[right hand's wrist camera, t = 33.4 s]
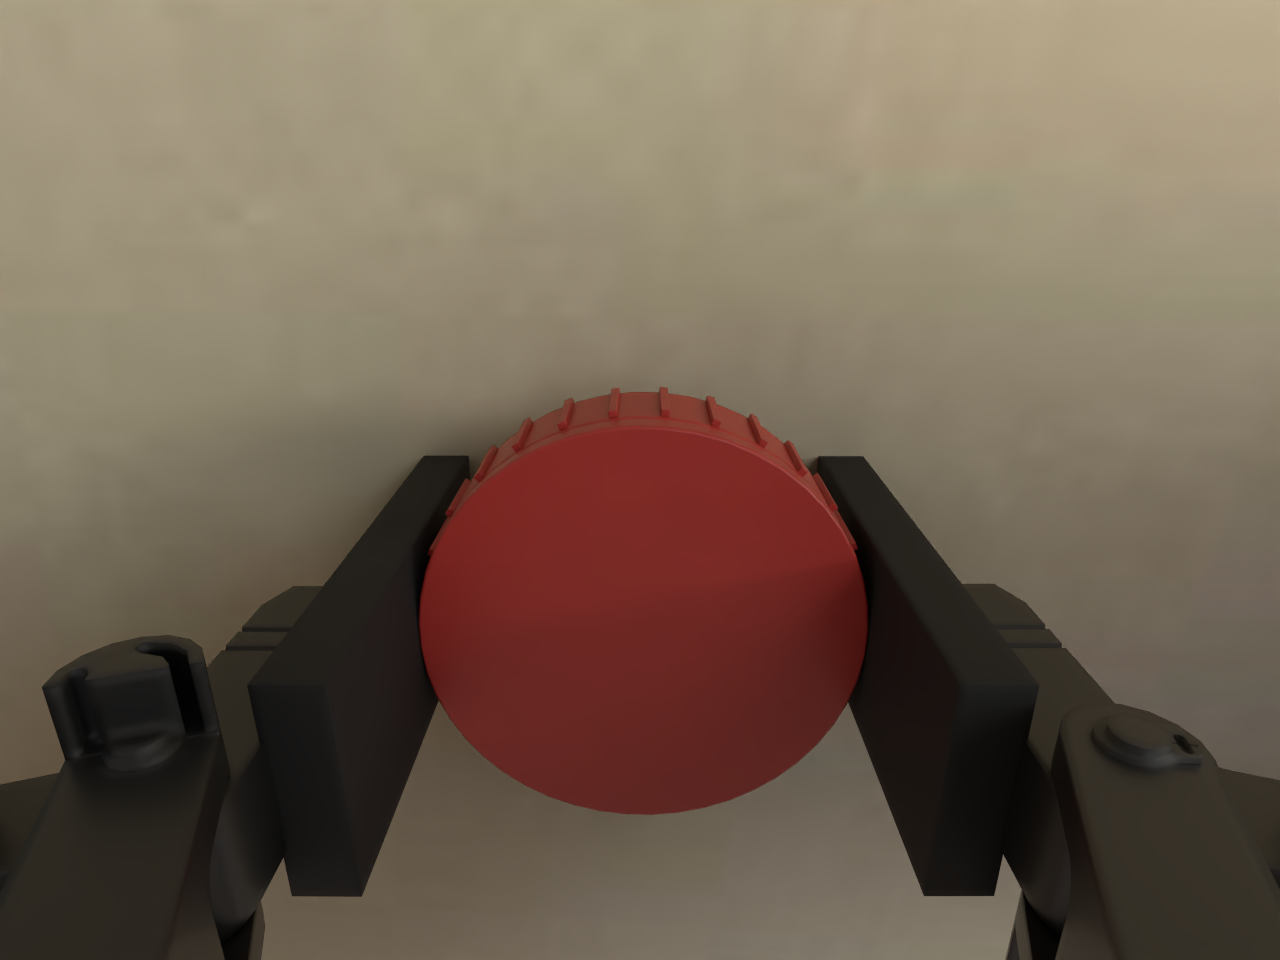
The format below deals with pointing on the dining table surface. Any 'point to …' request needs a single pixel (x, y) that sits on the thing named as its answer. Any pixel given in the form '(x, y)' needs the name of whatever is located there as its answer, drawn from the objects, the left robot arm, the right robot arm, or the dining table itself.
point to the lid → (643, 605)
